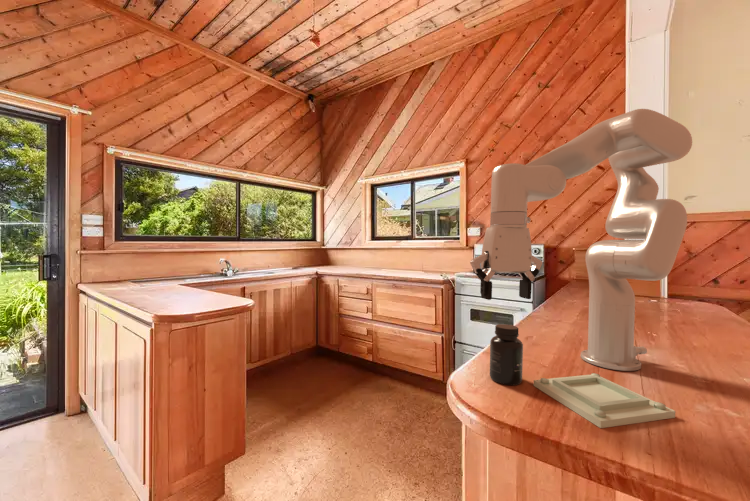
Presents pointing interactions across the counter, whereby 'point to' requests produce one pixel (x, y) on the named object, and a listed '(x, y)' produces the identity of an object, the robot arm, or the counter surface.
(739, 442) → the counter surface
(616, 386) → the seating plate
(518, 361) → the supplement bottle
